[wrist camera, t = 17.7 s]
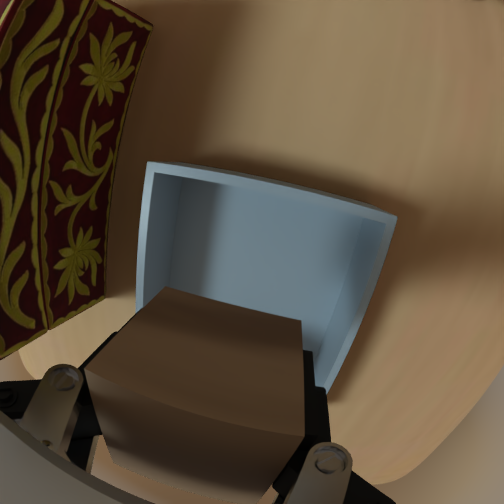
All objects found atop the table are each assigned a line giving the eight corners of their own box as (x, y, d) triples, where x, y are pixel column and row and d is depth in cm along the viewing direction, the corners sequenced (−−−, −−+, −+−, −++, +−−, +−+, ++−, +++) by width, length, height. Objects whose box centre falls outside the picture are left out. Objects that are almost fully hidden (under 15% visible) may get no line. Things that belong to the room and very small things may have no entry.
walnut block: (165, 285, 10) (84, 368, 5) (301, 320, 9) (304, 436, 5) (161, 381, 11) (113, 462, 7) (268, 410, 11) (254, 506, 6)
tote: (181, 162, 21) (147, 161, 16) (371, 204, 20) (397, 216, 14) (161, 368, 27) (140, 402, 22) (298, 403, 26) (297, 443, 21)
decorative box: (38, 48, 19) (-48, 29, 4) (156, 25, 18) (53, -53, 3) (11, 252, 27) (-69, 291, 13) (107, 298, 26) (8, 382, 12)
